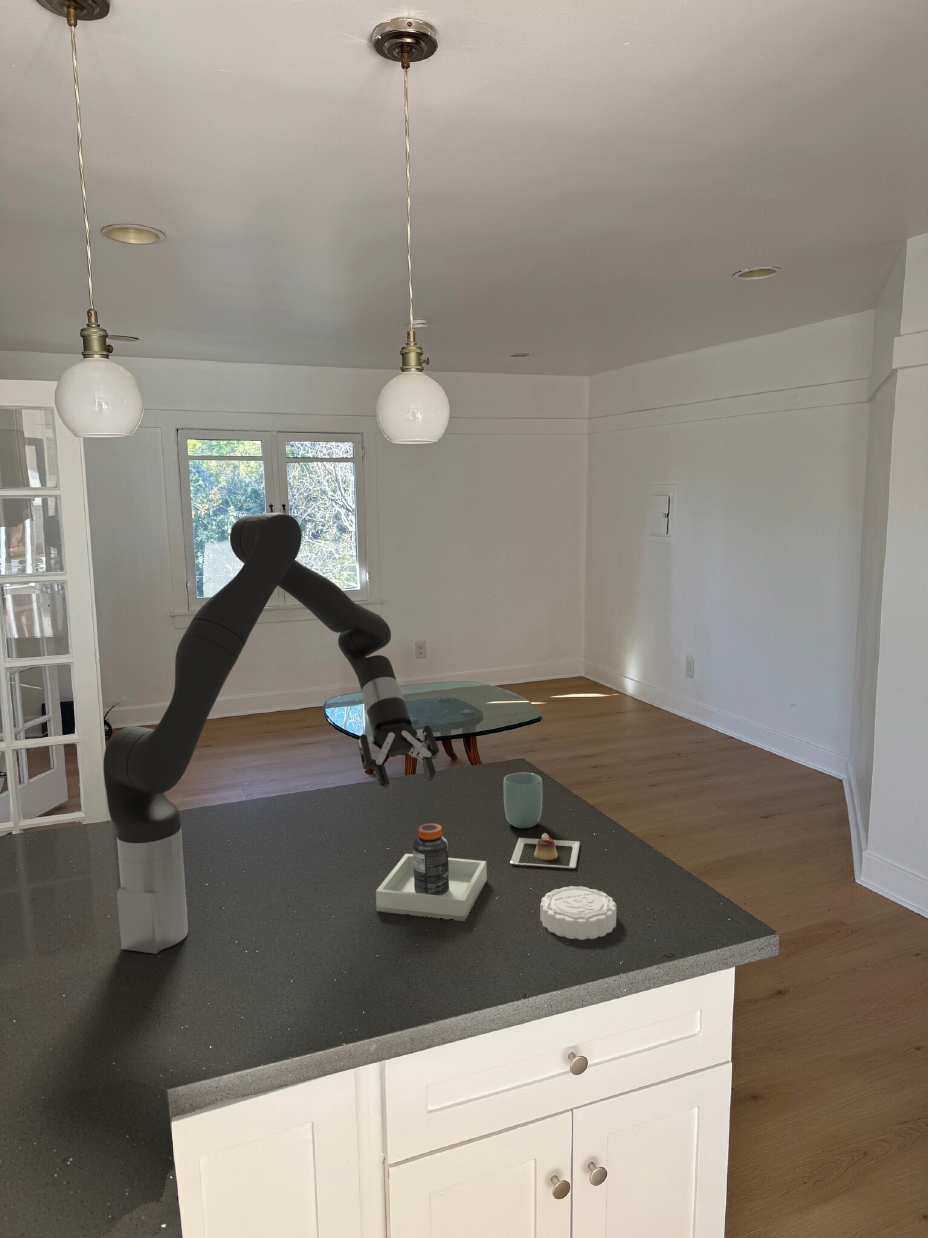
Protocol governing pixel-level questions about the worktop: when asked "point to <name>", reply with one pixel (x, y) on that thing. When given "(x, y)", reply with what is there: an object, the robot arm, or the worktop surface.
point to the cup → (523, 799)
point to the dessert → (545, 850)
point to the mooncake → (578, 912)
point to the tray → (452, 905)
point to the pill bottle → (431, 861)
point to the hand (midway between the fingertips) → (409, 782)
